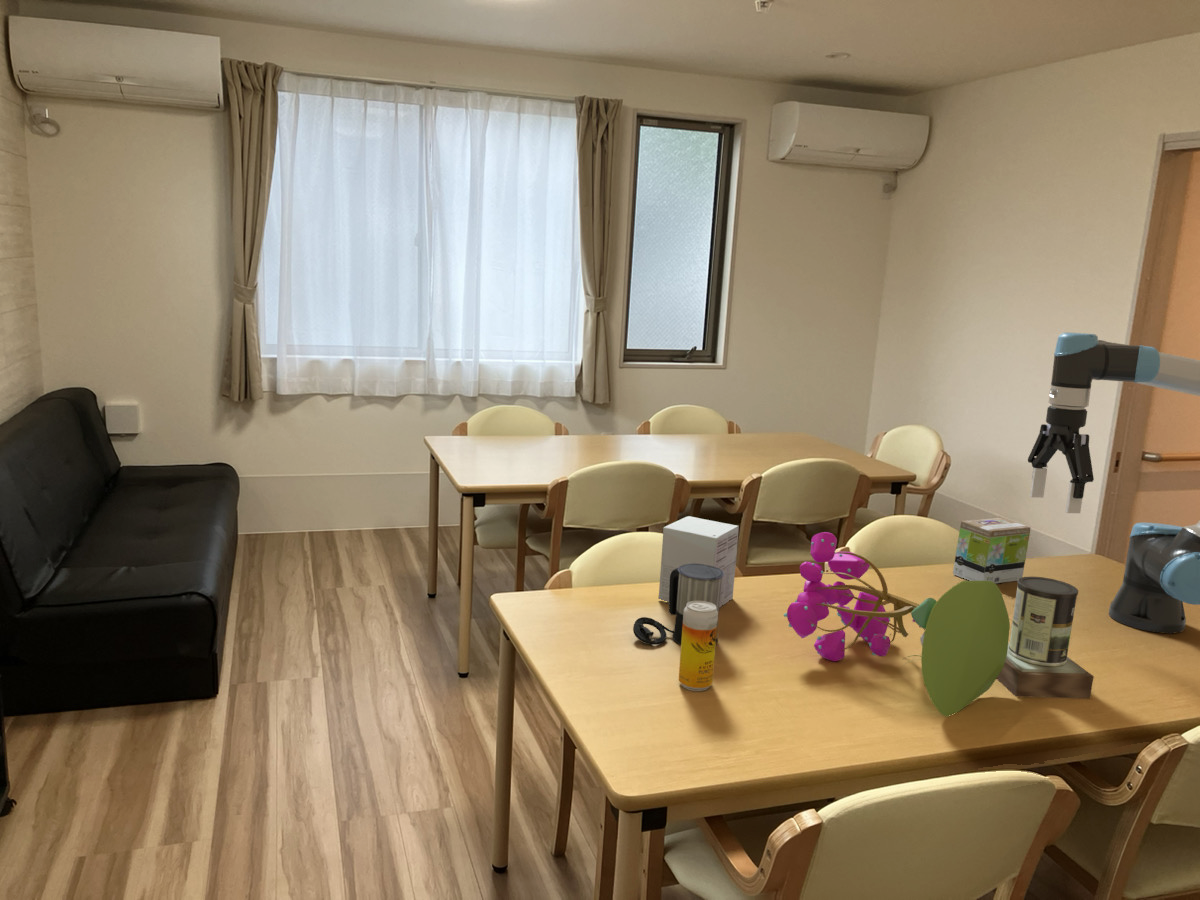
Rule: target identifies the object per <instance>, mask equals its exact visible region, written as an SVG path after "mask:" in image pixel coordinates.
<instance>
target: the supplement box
mask: <svg viewBox="0 0 1200 900" xmlns="http://www.w3.org/2000/svg"><path fill="white" fill-rule="evenodd" d="M662 530H663V531H662V544H661V547H662V548H661V557H660V558H661V561H660V571H659V572H660V573H659V588H658V599H661V600H664V601H667V602H669V585H670V575H671V572H672V571H673V570H674V569H676V568H679V567H680V566H681V565H685V564H693V563H696V564H705V565H710V566H714V567H716V568H719V569H721V570H722V571H723V572H724V576H723V577H722V586H721V596H720V605H719V607H720V608H721V607H723V606H724V605H725V604H727V603H729V602H730V601H731V600H732V598H734V588H735V575H736V563H737V551H738V541H739V530H740V529H739V525H735V524H731V523H725V522H721V521H720V522H719V521H715V520H711V519H710V520H709V519H704V518H699V517H695V516H690V515H688V516H685V517H683V518H680V519H679V520H677V521H674V522H671V523H670V524H667V525H666V526H664V527H663V528H662ZM658 599H657V600H658ZM729 600H730V601H729ZM722 605H723V606H722Z"/></svg>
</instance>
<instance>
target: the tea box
mask: <svg viewBox="0 0 1200 900" xmlns="http://www.w3.org/2000/svg"><path fill="white" fill-rule="evenodd" d="M1031 529H1032V528H1031V527H1030V526H1027V525H1025V524H1021V523H1018V522H1015V521H1012V520H1009V519H1005V518H1001V517H993V518H982V519H968V520H961V521H960V527H959V533H958V539H957V544H956V545H957V546H956V551H955V558H954V563H953V564H954V565H953V571H952V574H953V575H954V576H957V577H958V578H961V579H963V578H964V579H963V580H966V579H967V580H966V581H968V580H969V581H992V582H993V583H995V584H1001V583H1010V582H1017V581H1018V579H1019V578H1022V577H1024V570H1025V565H1026V557H1027V551H1028V547H1029V541H1030V536H1031Z"/></svg>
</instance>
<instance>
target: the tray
mask: <svg viewBox="0 0 1200 900" xmlns="http://www.w3.org/2000/svg"><path fill="white" fill-rule="evenodd" d="M1008 647H1009V642H1008ZM1094 677H1095V676H1094V675H1093V674H1091V673H1090V672H1088V670H1086V669H1085V668H1084V667H1082V666H1081V665H1080V664H1078V663H1077V662H1075V661H1074V660H1073V659H1071V658H1070V657H1069V656H1067V662H1066V664H1064V665H1062V666H1055V667H1053V666H1041V665H1036V664H1032V663H1028V662H1025V661H1022V660H1020V659H1018V658H1016V657H1014V656H1013V655H1011V654H1010V653H1009V651H1008V650H1007V656H1006V660H1005V664H1004V666H1003V669H1002V671H1001V672H1000V674H999V675H998V677H997V678H996V680H998V682H1000V684H1002V686H1004V687H1005V688H1006V689H1007V690H1008V691H1009V692H1011V694H1013V695H1014V696H1015V697H1023V698H1050V699H1051V698H1055V699H1056V698H1059V699H1060V698H1061V699H1086V698H1087V699H1089V700H1090V699H1091V693H1092V688H1093V681H1094ZM1087 699H1086V700H1087Z"/></svg>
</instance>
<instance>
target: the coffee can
mask: <svg viewBox="0 0 1200 900" xmlns="http://www.w3.org/2000/svg"><path fill="white" fill-rule="evenodd" d="M1016 583H1017V586H1016V587H1017V588H1016V595H1015V599H1014V601H1015V602H1014V609H1013V615H1012V616H1013V617H1012V623H1011V630H1010V634H1009V641H1008V643H1009V647H1008V651H1009V653H1010V654H1011V655H1013V656H1014V657H1016V658H1018V659H1020V660H1022V661H1025V662H1028V663H1032V664H1036V665H1041V666H1053V667H1055V666H1062V665H1064V664H1066V662H1067V657H1068V652H1069V647H1070V639H1071V635H1072V627H1073V621H1074V614H1075V611H1076V610H1075V609H1076V603H1077V597H1078V595H1079V590H1078V588H1077V587H1076V586H1074V585H1072V584H1070V583H1067V582H1065V581H1061V580H1058V579H1054V578H1048V577H1045V576H1044V577H1042V576H1022V578H1019V579H1018V581H1016Z"/></svg>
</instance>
